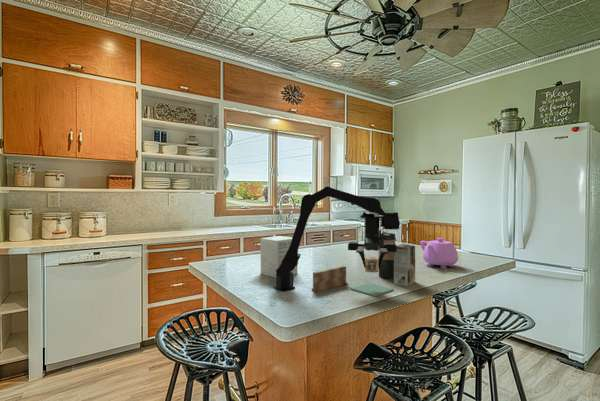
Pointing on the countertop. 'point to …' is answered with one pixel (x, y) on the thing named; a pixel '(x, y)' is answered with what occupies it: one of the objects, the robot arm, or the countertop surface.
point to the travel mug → (387, 258)
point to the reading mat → (372, 289)
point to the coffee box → (404, 265)
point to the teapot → (439, 253)
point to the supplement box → (274, 254)
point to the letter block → (371, 264)
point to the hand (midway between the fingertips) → (371, 268)
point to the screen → (329, 278)
